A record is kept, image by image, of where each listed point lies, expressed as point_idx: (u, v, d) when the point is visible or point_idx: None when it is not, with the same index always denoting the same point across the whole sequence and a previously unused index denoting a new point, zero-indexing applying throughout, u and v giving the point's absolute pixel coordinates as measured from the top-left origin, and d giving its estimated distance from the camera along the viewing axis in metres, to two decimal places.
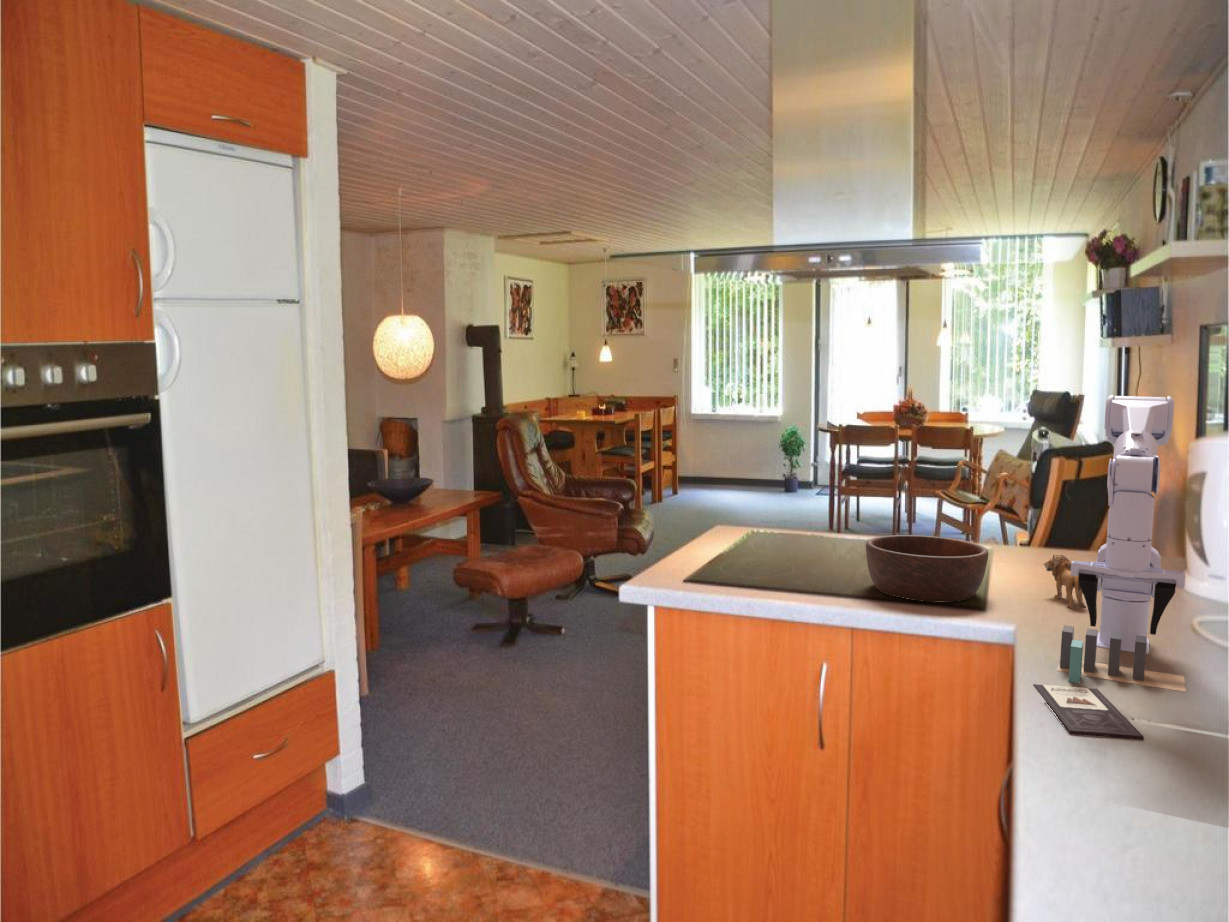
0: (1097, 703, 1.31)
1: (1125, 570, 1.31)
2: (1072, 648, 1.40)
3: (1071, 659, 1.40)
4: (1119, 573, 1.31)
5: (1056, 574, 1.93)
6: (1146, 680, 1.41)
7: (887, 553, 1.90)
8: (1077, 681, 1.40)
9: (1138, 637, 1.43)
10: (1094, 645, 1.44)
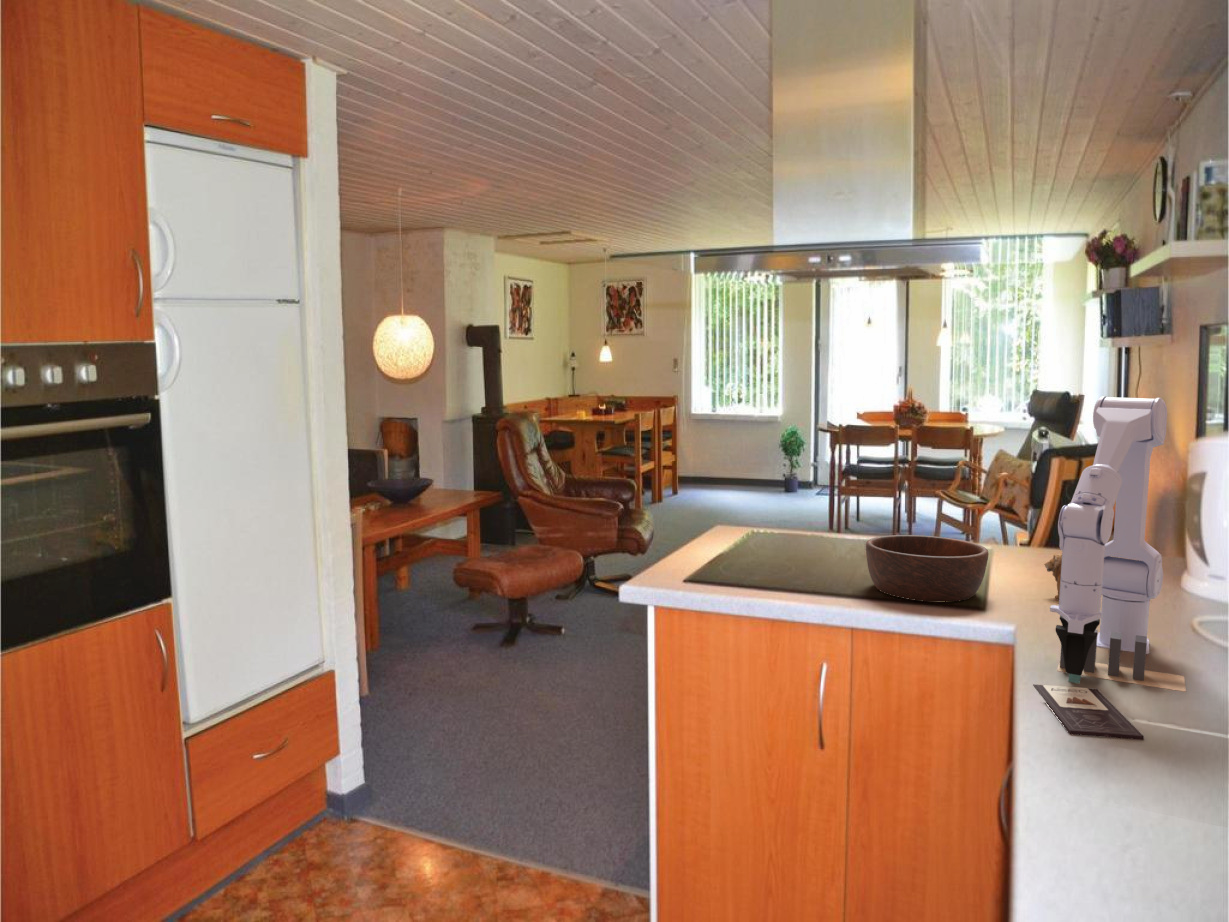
0: (1097, 703, 1.31)
1: (1058, 606, 1.42)
2: None
3: None
4: None
5: (1057, 574, 1.93)
6: (1146, 680, 1.41)
7: (887, 553, 1.90)
8: (1077, 681, 1.40)
9: (1138, 637, 1.43)
10: (1094, 645, 1.44)
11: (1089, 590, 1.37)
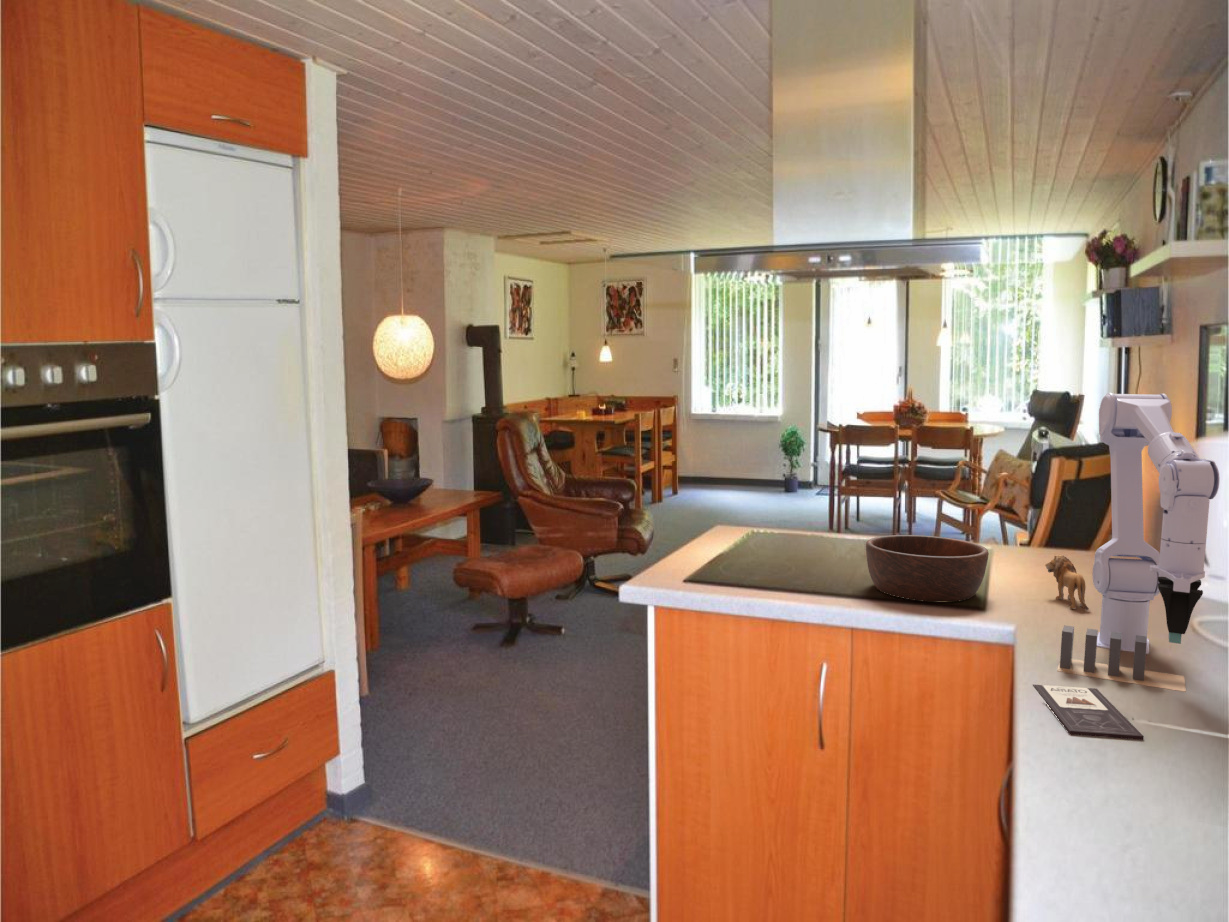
0: (1097, 703, 1.31)
1: (1158, 565, 1.39)
2: None
3: None
4: None
5: (1058, 575, 1.92)
6: (1146, 680, 1.41)
7: (887, 553, 1.90)
8: (1178, 639, 1.36)
9: (1138, 637, 1.43)
10: (1094, 645, 1.44)
11: (1193, 548, 1.34)
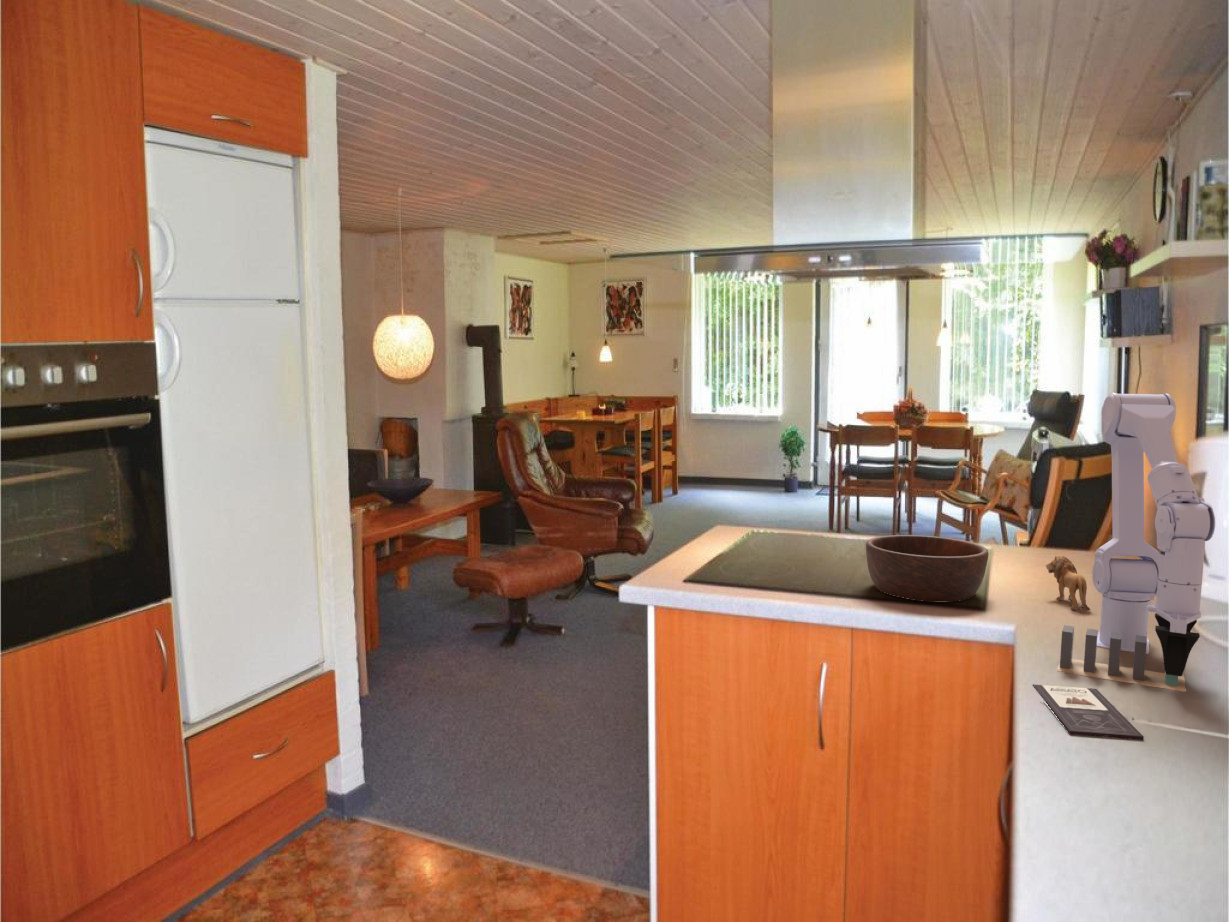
0: (1097, 704, 1.31)
1: (1155, 605, 1.41)
2: None
3: None
4: None
5: (1058, 576, 1.92)
6: (1146, 680, 1.41)
7: (887, 553, 1.90)
8: (1175, 681, 1.39)
9: (1138, 637, 1.43)
10: (1094, 645, 1.44)
11: (1190, 589, 1.36)
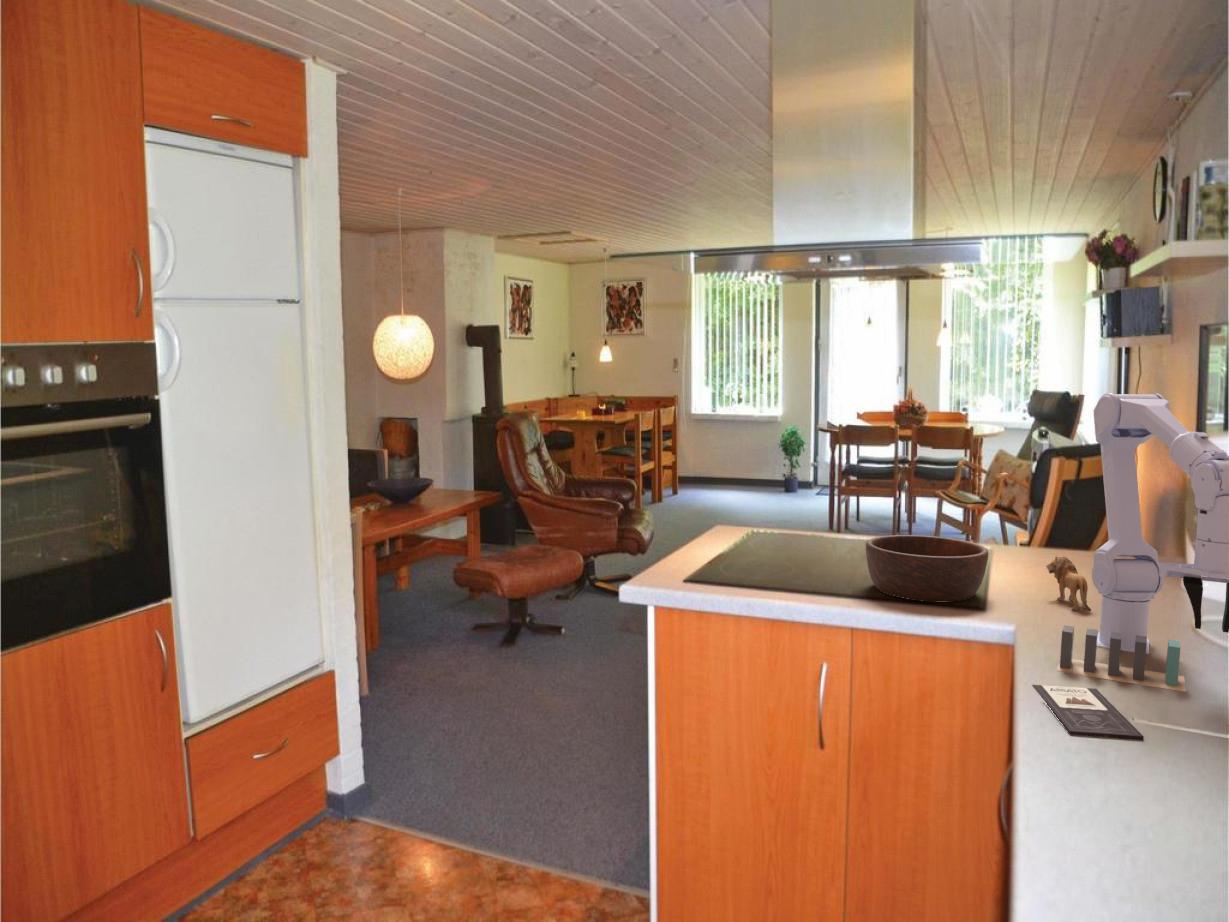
0: (1096, 703, 1.31)
1: (1216, 571, 1.34)
2: (1170, 648, 1.39)
3: (1169, 659, 1.39)
4: (1211, 574, 1.34)
5: (1059, 576, 1.91)
6: (1146, 680, 1.41)
7: (887, 553, 1.90)
8: (1175, 681, 1.39)
9: (1138, 637, 1.43)
10: (1094, 645, 1.44)
11: None
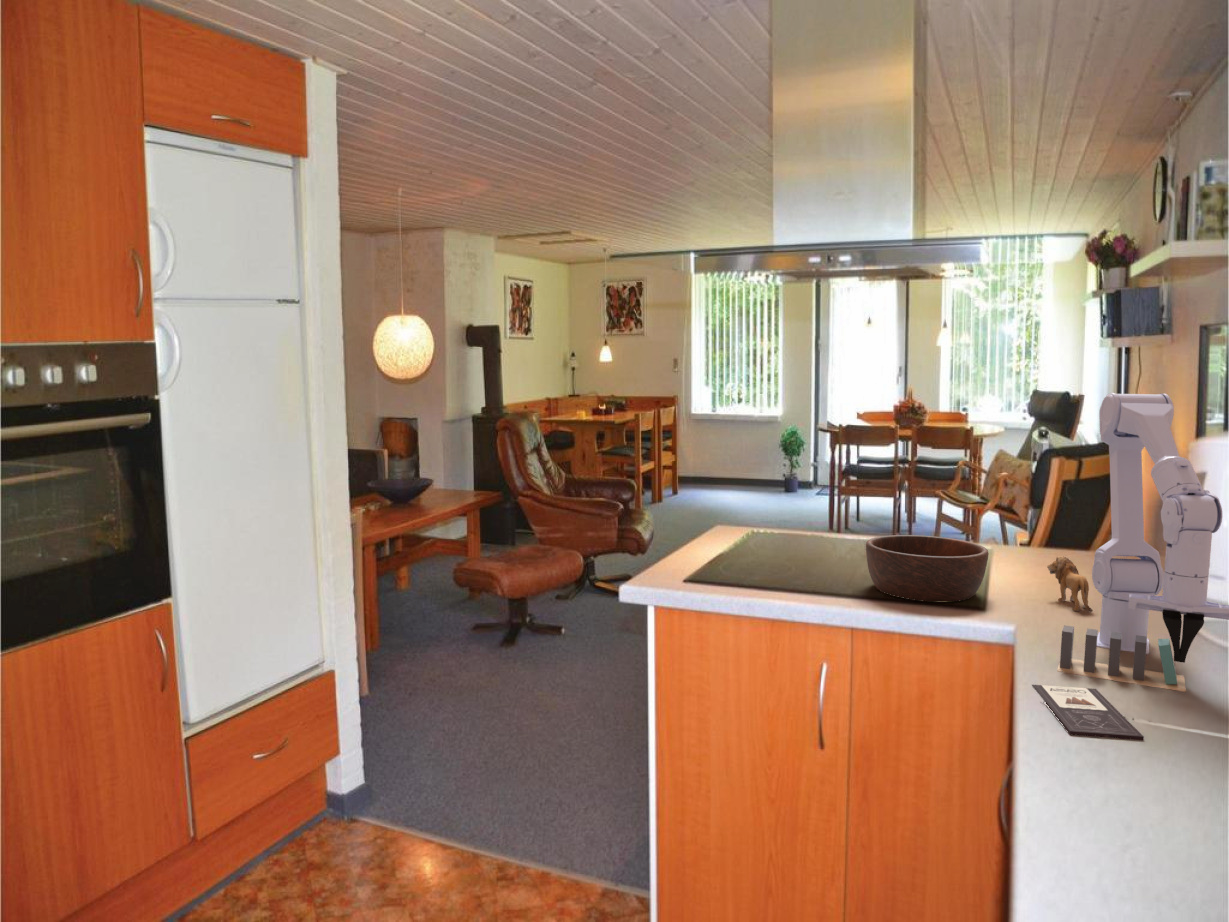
0: (1096, 704, 1.31)
1: (1183, 605, 1.37)
2: (1160, 647, 1.39)
3: (1162, 658, 1.39)
4: (1178, 608, 1.36)
5: (1060, 577, 1.91)
6: (1146, 680, 1.41)
7: (887, 553, 1.90)
8: (1174, 679, 1.39)
9: (1138, 637, 1.43)
10: (1094, 645, 1.44)
11: None
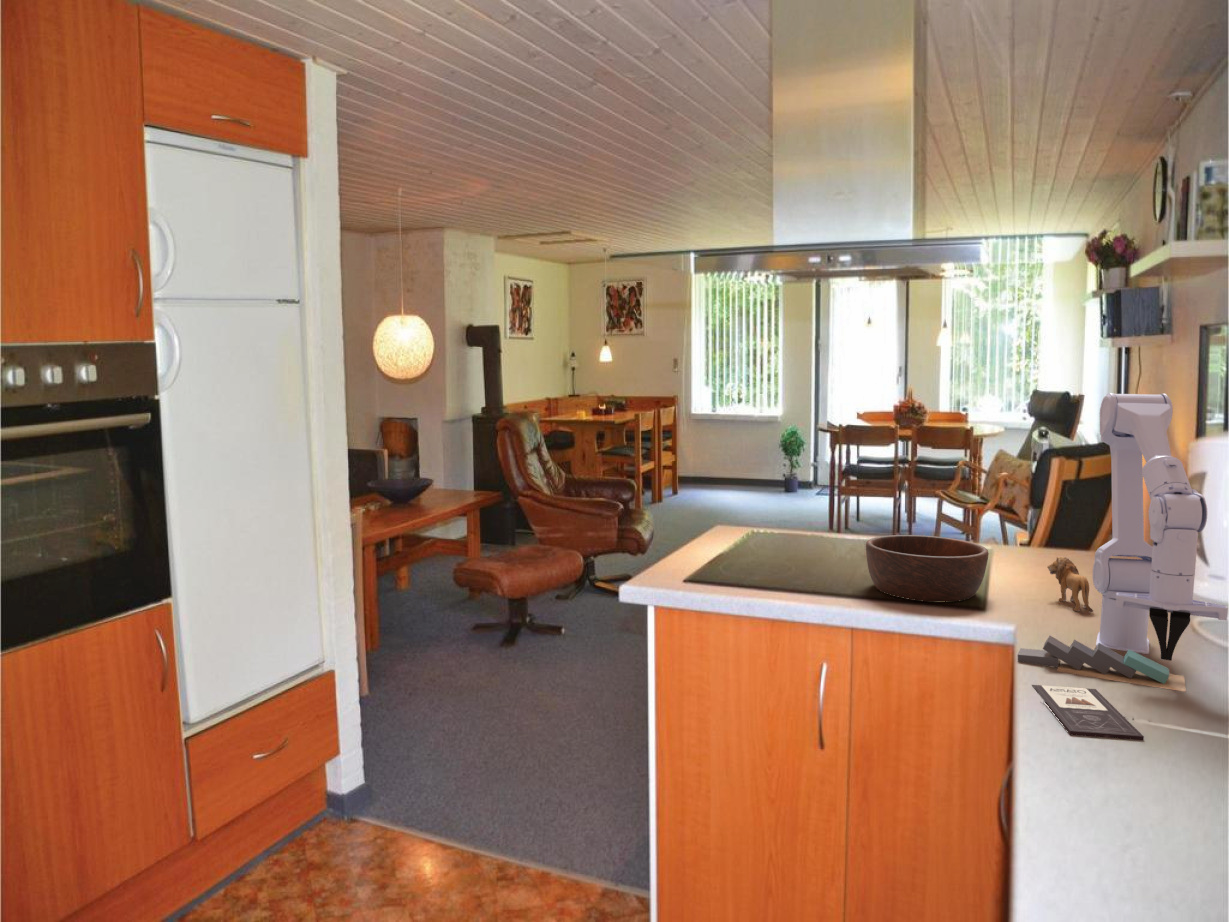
0: (1096, 704, 1.31)
1: (1170, 603, 1.37)
2: (1126, 663, 1.42)
3: (1138, 669, 1.41)
4: (1164, 606, 1.37)
5: (1060, 577, 1.91)
6: (1146, 680, 1.41)
7: (887, 553, 1.90)
8: (1163, 675, 1.40)
9: (1094, 650, 1.46)
10: (1056, 648, 1.47)
11: None
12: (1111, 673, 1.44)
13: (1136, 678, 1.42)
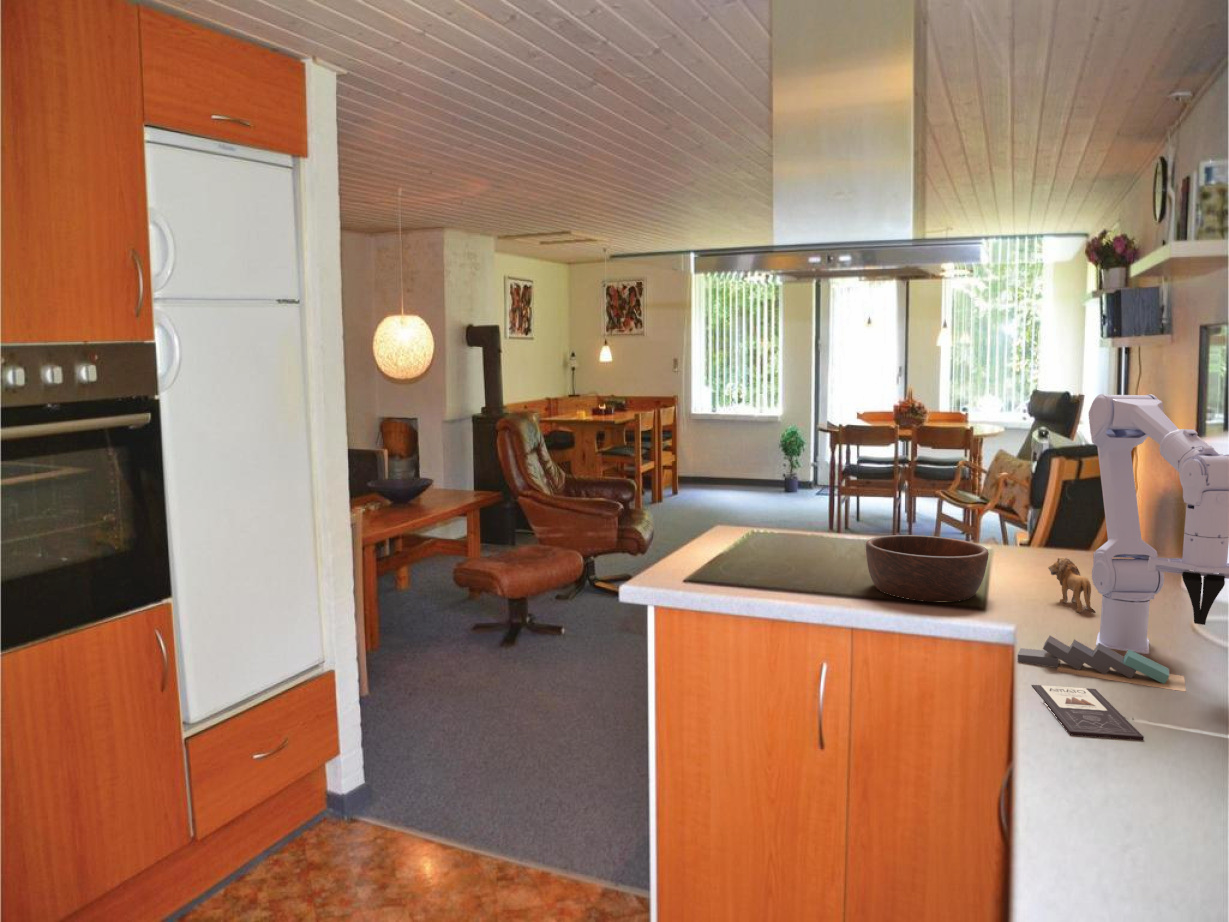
0: (1096, 704, 1.31)
1: (1204, 566, 1.36)
2: (1126, 663, 1.42)
3: (1138, 669, 1.41)
4: (1198, 569, 1.35)
5: (1061, 578, 1.90)
6: (1146, 680, 1.41)
7: (887, 553, 1.90)
8: (1163, 675, 1.40)
9: (1094, 650, 1.46)
10: (1056, 648, 1.47)
11: None
12: (1111, 673, 1.44)
13: (1136, 678, 1.42)
